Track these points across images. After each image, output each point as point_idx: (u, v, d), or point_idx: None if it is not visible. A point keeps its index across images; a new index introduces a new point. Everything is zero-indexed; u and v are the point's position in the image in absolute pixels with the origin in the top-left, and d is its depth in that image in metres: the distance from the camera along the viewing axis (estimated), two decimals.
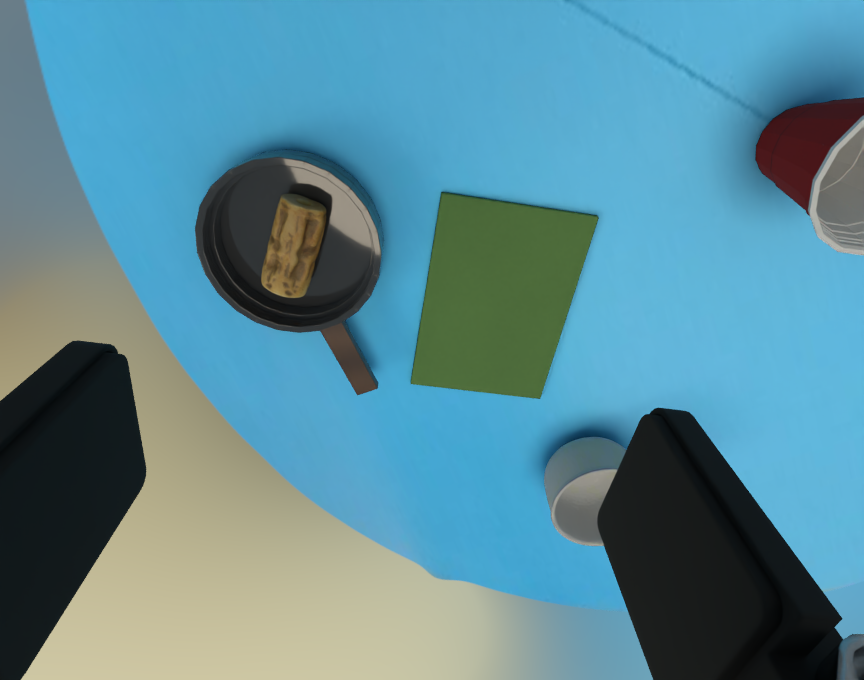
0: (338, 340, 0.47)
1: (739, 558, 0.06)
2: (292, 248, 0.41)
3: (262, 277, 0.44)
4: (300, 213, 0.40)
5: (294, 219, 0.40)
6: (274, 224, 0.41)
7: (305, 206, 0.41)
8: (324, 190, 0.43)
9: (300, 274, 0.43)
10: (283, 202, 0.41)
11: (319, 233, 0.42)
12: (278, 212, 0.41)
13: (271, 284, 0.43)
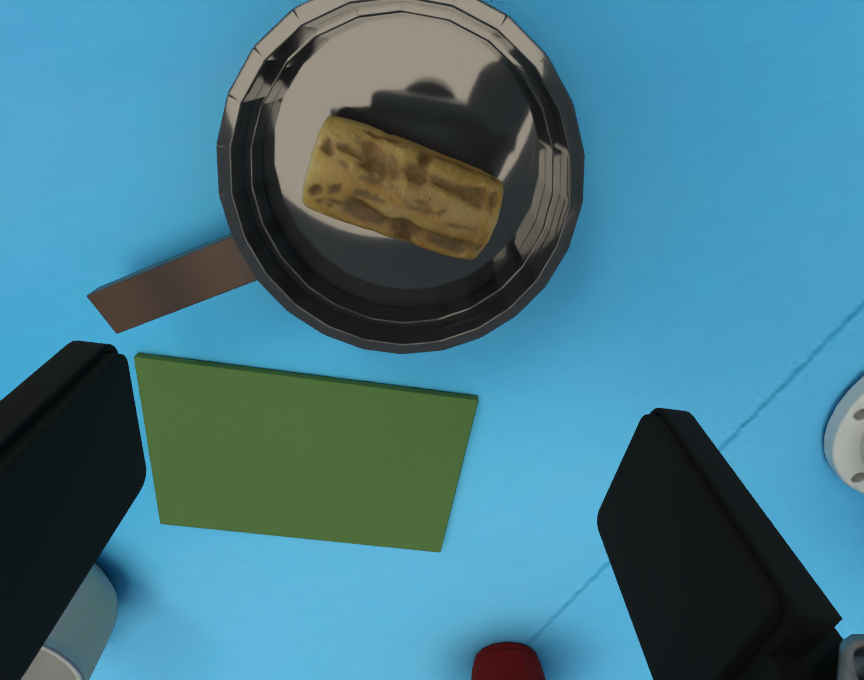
0: (214, 270, 0.23)
1: (739, 558, 0.06)
2: (414, 213, 0.21)
3: (341, 127, 0.20)
4: (481, 235, 0.22)
5: (471, 223, 0.21)
6: (457, 173, 0.21)
7: None
8: (492, 238, 0.26)
9: (354, 213, 0.22)
10: (497, 196, 0.22)
11: (435, 251, 0.23)
12: (478, 183, 0.21)
13: (332, 155, 0.20)
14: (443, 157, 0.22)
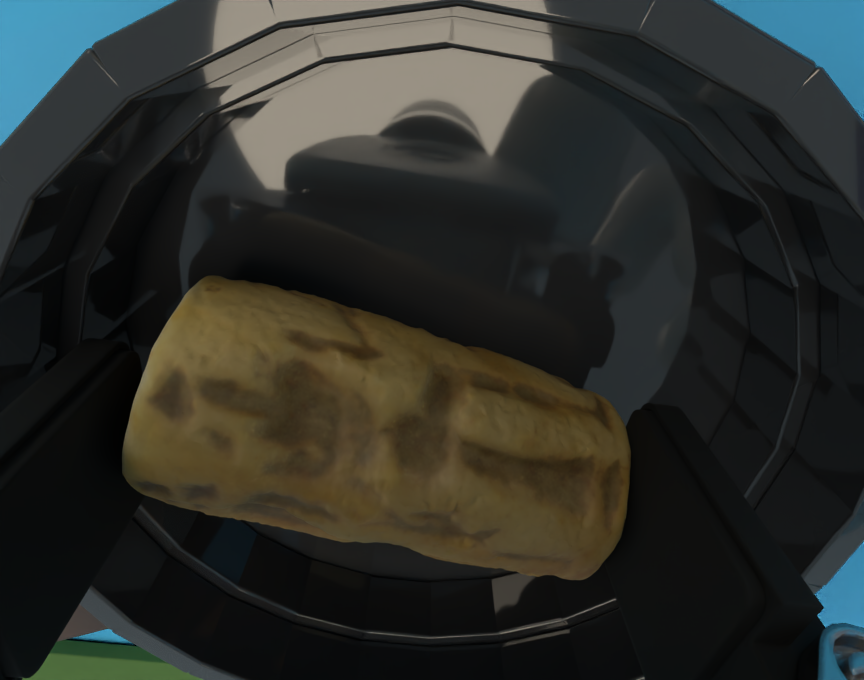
0: None
1: (724, 549, 0.07)
2: (415, 537, 0.08)
3: (215, 331, 0.07)
4: (582, 570, 0.09)
5: (559, 551, 0.08)
6: (527, 434, 0.08)
7: None
8: None
9: (268, 511, 0.09)
10: (620, 473, 0.09)
11: None
12: (578, 449, 0.09)
13: (185, 417, 0.07)
14: (487, 373, 0.09)
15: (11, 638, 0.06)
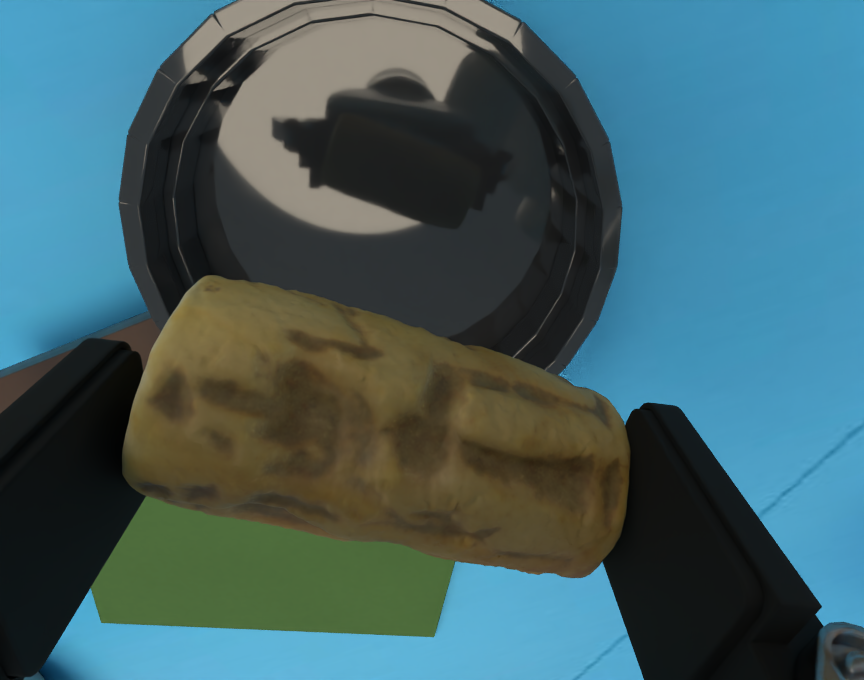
0: None
1: (722, 548, 0.07)
2: (416, 535, 0.08)
3: (215, 332, 0.07)
4: (582, 568, 0.09)
5: (559, 549, 0.08)
6: (527, 432, 0.08)
7: None
8: (494, 299, 0.20)
9: (268, 511, 0.09)
10: (620, 472, 0.09)
11: None
12: (577, 447, 0.09)
13: (185, 417, 0.07)
14: (487, 372, 0.09)
15: (13, 637, 0.06)
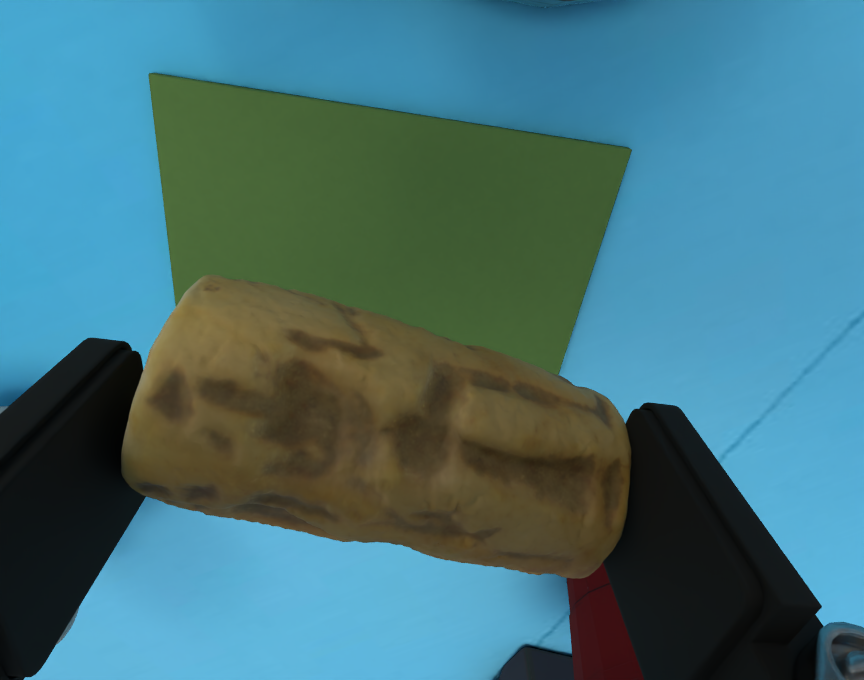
0: None
1: (723, 548, 0.07)
2: (416, 536, 0.08)
3: (215, 331, 0.07)
4: (582, 568, 0.09)
5: (560, 550, 0.08)
6: (528, 433, 0.08)
7: None
8: None
9: (268, 511, 0.09)
10: (621, 472, 0.09)
11: None
12: (578, 447, 0.09)
13: (185, 417, 0.07)
14: (488, 372, 0.09)
15: (13, 637, 0.06)
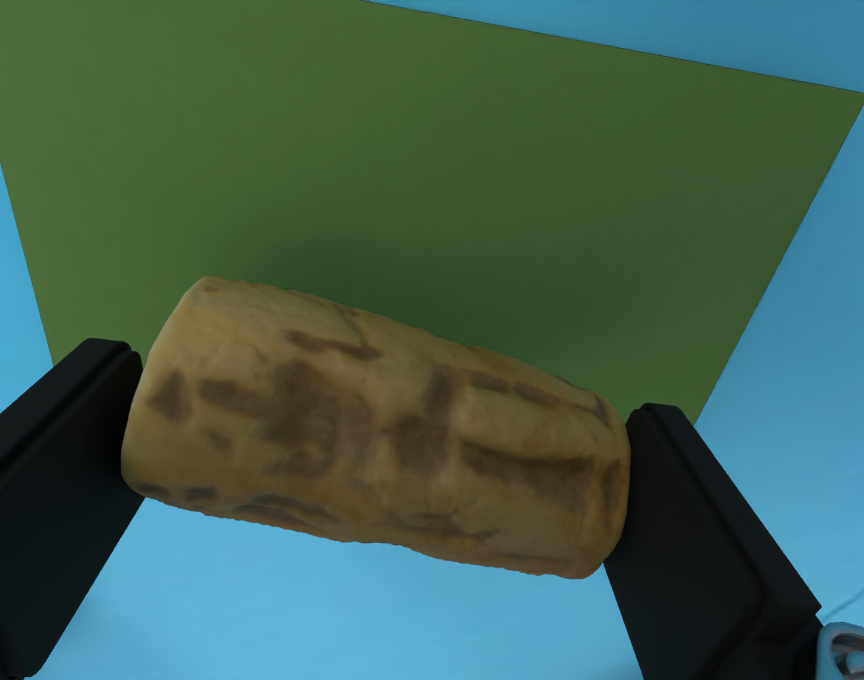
0: None
1: (722, 548, 0.07)
2: (416, 537, 0.08)
3: (214, 332, 0.07)
4: (581, 568, 0.09)
5: (560, 551, 0.08)
6: (528, 433, 0.08)
7: None
8: None
9: (268, 512, 0.09)
10: (620, 473, 0.09)
11: None
12: (578, 448, 0.09)
13: (184, 418, 0.07)
14: (487, 373, 0.09)
15: (13, 637, 0.06)
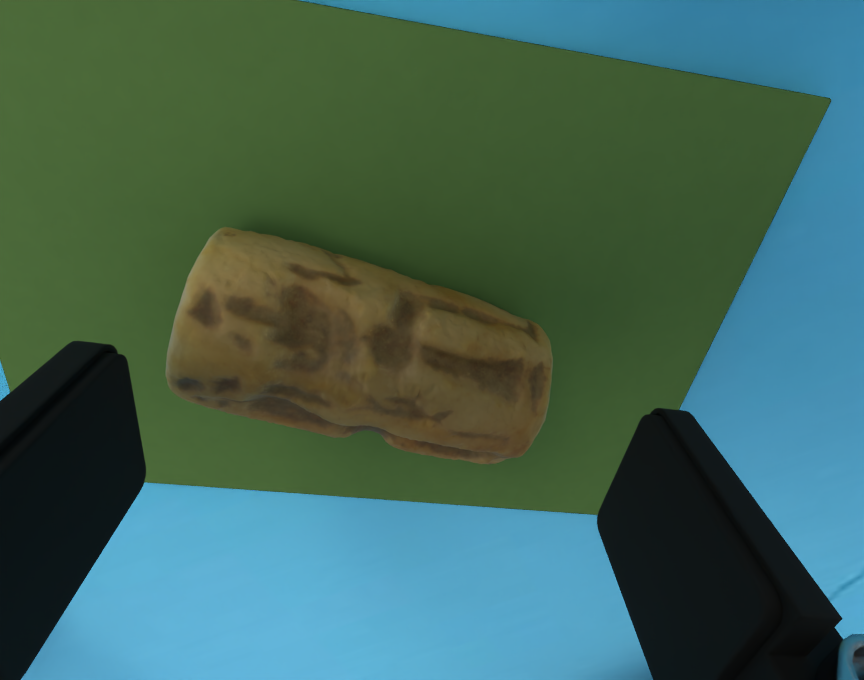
0: None
1: (739, 558, 0.06)
2: (389, 419, 0.11)
3: (235, 263, 0.10)
4: (516, 446, 0.12)
5: (498, 429, 0.11)
6: (471, 340, 0.11)
7: None
8: None
9: (275, 410, 0.11)
10: (544, 372, 0.12)
11: (428, 454, 0.13)
12: (510, 352, 0.11)
13: (216, 324, 0.10)
14: (442, 300, 0.12)
15: None
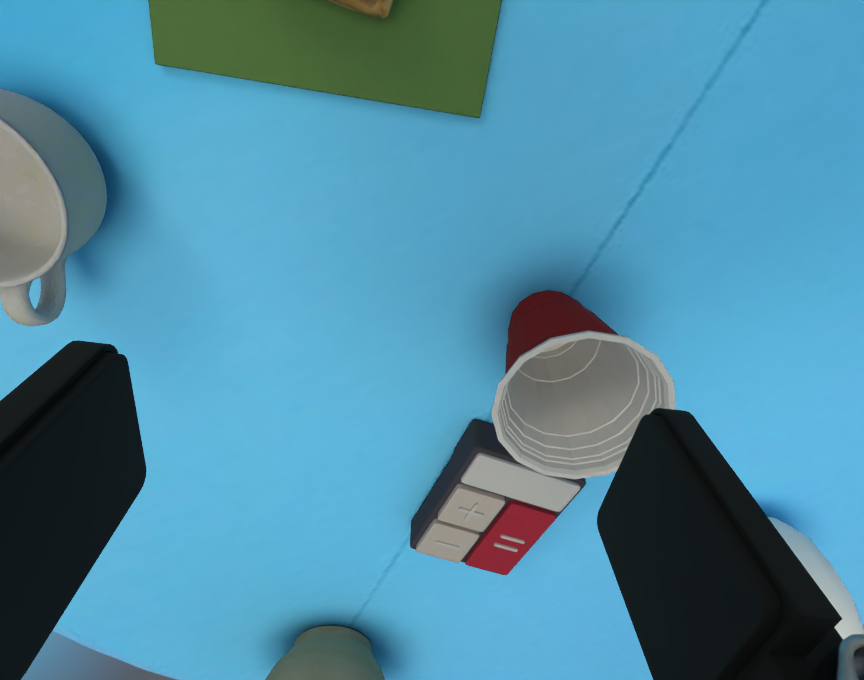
0: None
1: (739, 558, 0.06)
2: None
3: None
4: None
5: None
6: None
7: None
8: None
9: None
10: None
11: (353, 5, 0.27)
12: None
13: None
14: None
15: None
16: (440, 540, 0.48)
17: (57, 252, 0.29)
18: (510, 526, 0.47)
